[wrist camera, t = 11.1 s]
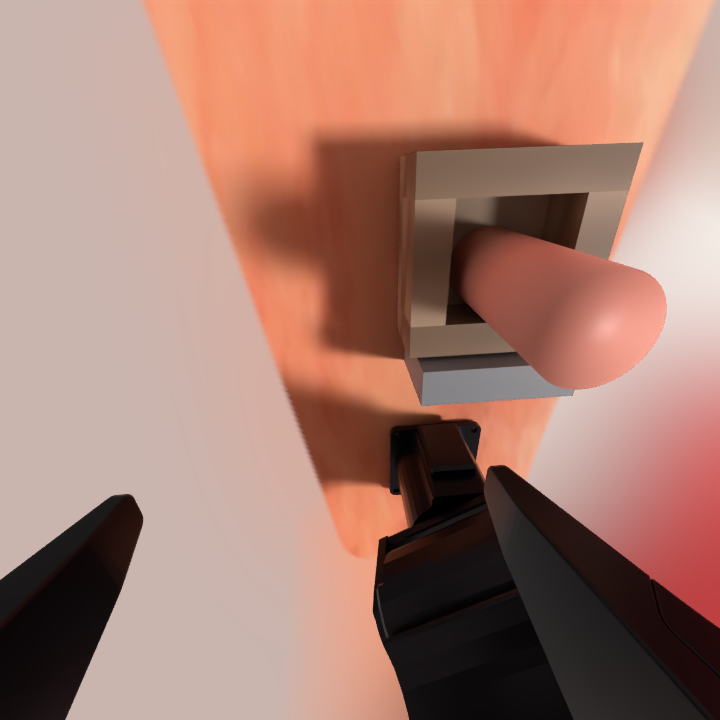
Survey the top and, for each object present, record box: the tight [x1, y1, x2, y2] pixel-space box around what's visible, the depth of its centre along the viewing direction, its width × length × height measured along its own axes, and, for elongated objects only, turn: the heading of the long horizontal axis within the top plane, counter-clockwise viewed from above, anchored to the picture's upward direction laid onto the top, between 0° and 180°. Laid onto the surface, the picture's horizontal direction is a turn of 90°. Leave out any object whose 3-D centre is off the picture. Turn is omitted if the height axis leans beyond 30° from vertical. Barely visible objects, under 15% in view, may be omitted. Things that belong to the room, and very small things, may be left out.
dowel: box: [449, 226, 667, 390], centre depth 14 cm, size 4×4×9 cm
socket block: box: [397, 143, 643, 358], centre depth 17 cm, size 9×9×4 cm
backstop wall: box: [404, 349, 574, 406], centre depth 20 cm, size 2×8×5 cm, turn 92°
